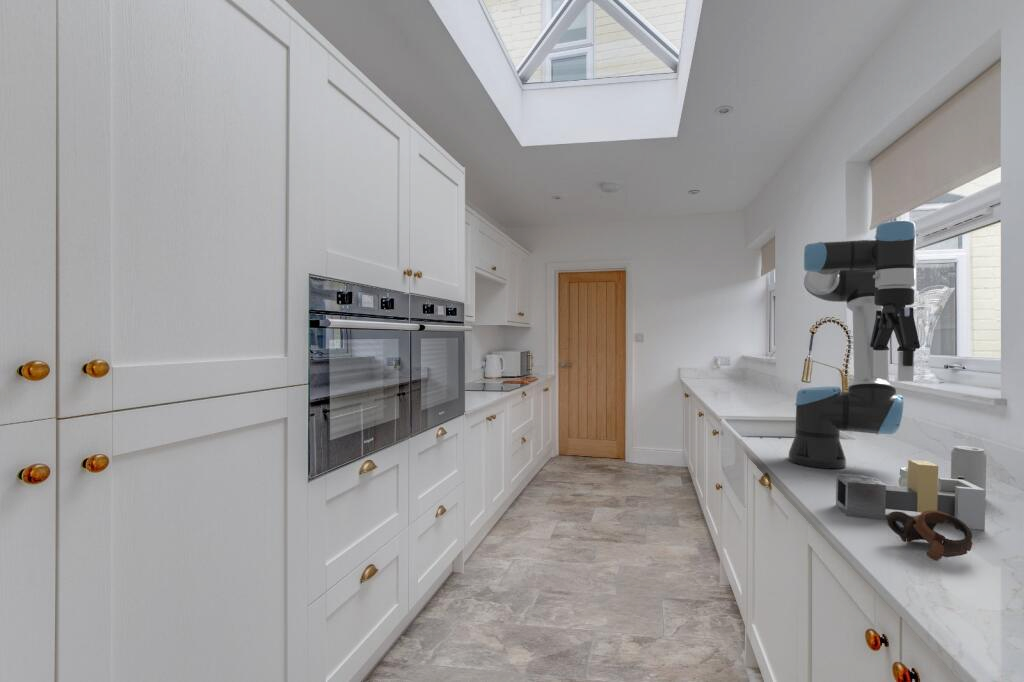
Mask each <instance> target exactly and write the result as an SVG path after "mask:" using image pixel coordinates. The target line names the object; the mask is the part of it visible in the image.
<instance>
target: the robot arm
mask: <svg viewBox="0 0 1024 682" xmlns="http://www.w3.org/2000/svg"><path fill="white" fill-rule="evenodd" d="M875 229H876V230H875V236H874V238H875V239H860V240H846V241H845V240H844V241H843V240H842V241H828V242H826V241H825V242H824V241H823V242H822V241H818V242H814V243H808V244H806V245H805V246H804V250H803V251H804V253H803V269H804V271H805V272H806V274H805V275H804V278H803V284H804V287H805V289H806V291H807V292H808V293H809V294H810V295H812V296H814V297H815V298H817V299H820V300H824V301H828V302H838V303H839V302H843V303H844V302H846V307H847V309H848V310H850V311H851V312H852V343H853V344H852V345H853V346H852V347H853V348H852V349H853V382H852V383H851V384H850V385H848V387H847V390H848V391H846V392H845V391H842V388H841V387H840V386H816V387H814V386H813V387H805V388H801V389H800V390H798V391H797V393H796V397H795V399H796V400H795V407H796V408H795V409H796V410H795V435H794V438H793V441H792V442H791V446H790V448H789V450H788V461H789V460H790V462H791V463H793V462H794V463H793V464H796V463H797V465H801V466H804V467H805V466H806V467H810V466H811V468H817V467H819V469H829V468H838V469H843V467H844V468H846V467H847V457H846V455H845V453H844V452H845V451H844V449H843V446H842V443H841V440H840V435H841V433H840V432H841V431H842V432H843V431H844V432H853V433H863V434H864V433H866V434H876V435H894V434H896V433H897V432H898V430H899V428H900V427H901V423H902V418H903V411H904V397H903V395H900V393H899V394H898V393H897V391H896V390H897V389H896V387H895V386H894V385H893V384H891V383H890V381H889V380H890V378H889V377H890V376H889V354H888V353H889V350H890V348H889V346H888V345H889V342H890V339H891V336H892V334H893V333H894V334H895V335H894V336H895V337H896V341H897V344H898V348H897V349H896V351H897V354H898V355H897V382H898V381H900V382H914V372H915V371H914V365H915V361H914V360H915V352H916V350H919V349H920V348H921V345H920V339H919V335H918V331H917V326H916V322H915V315H914V314H915V312H914V307H912V306H911V305H913V304H915V289H914V288H912V287H914V286H915V285H916V268H915V266H916V258H915V257H916V243H917V242H916V238H917V236H918V235H917V234H916V224H915V222H913V221H911V220H895V221H888V222H884V223H880V224H878V225H877V227H876V228H875ZM908 306H909V307H908ZM845 466H846V467H845Z"/></svg>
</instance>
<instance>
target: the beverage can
mask: <svg viewBox="0 0 1024 682" xmlns="http://www.w3.org/2000/svg"><path fill="white" fill-rule="evenodd" d="M952 447H953V449H952V450H951V451H950V453H951V454H950V479H957V478H958V476H961V477H964V480H965V481H967V482H969V483H971V484H973V485H976V486H978V487H980V488H982V489H984V490H987V453H985V449H983V448H981V447H976V446H967V445H953V446H952ZM986 496H987V495H985V498H986Z"/></svg>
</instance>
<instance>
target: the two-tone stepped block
mask: <svg viewBox="0 0 1024 682" xmlns="http://www.w3.org/2000/svg"><path fill="white" fill-rule="evenodd" d="M907 462H908V463H907V465H908V467H907V468H908V487H900V486H897V485H895V486H892V485H886V508H885V510H891V511H893V510H895V511H901V512H903V511H904V512H915V513H920V514H921V513H923V512H924V511H930V510H933V511H940V512H944V513H947V514H949V515H955V491H943V490H938V478H939V465H937V464H934V463H932V462H931V461H928V460H917V459H907Z"/></svg>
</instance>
